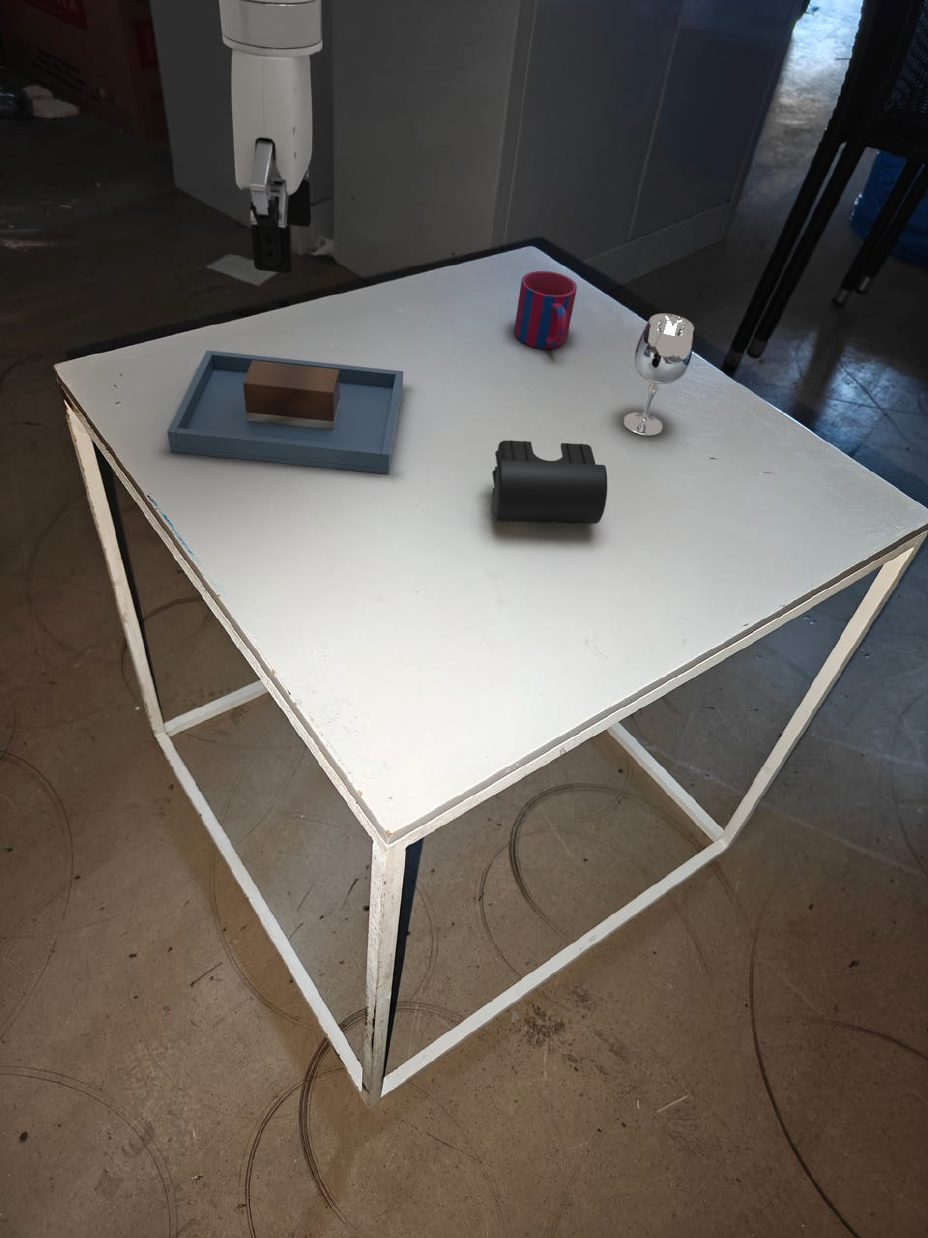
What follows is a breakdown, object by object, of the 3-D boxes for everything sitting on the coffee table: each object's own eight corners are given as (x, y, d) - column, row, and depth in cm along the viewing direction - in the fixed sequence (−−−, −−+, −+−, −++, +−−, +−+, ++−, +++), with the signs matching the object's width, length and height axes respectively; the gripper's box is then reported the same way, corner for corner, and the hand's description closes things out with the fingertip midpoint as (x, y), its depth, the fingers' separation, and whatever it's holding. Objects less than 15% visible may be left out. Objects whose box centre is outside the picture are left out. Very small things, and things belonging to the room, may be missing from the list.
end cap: (492, 538, 81) (501, 481, 76) (486, 491, 85) (494, 434, 80) (596, 542, 82) (612, 485, 77) (585, 495, 86) (599, 439, 82)
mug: (561, 323, 111) (571, 271, 106) (576, 364, 104) (587, 311, 99) (510, 321, 110) (518, 269, 105) (522, 362, 103) (530, 308, 98)
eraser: (246, 420, 89) (242, 382, 85) (255, 397, 92) (252, 359, 88) (333, 430, 89) (333, 392, 86) (339, 406, 92) (339, 369, 89)
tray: (170, 451, 85) (166, 431, 83) (209, 369, 96) (206, 349, 94) (388, 474, 86) (389, 454, 84) (402, 389, 97) (403, 370, 95)
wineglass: (629, 441, 94) (658, 340, 85) (609, 411, 98) (634, 312, 89) (676, 436, 95) (709, 337, 87) (655, 407, 99) (684, 309, 90)
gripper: (246, -11, 71) (261, 204, 83) (192, 44, 59) (219, 285, 71) (337, 1, 71) (339, 212, 84) (301, 57, 59) (310, 295, 72)
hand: (284, 246), depth 77 cm, fingers open, 9 cm apart
